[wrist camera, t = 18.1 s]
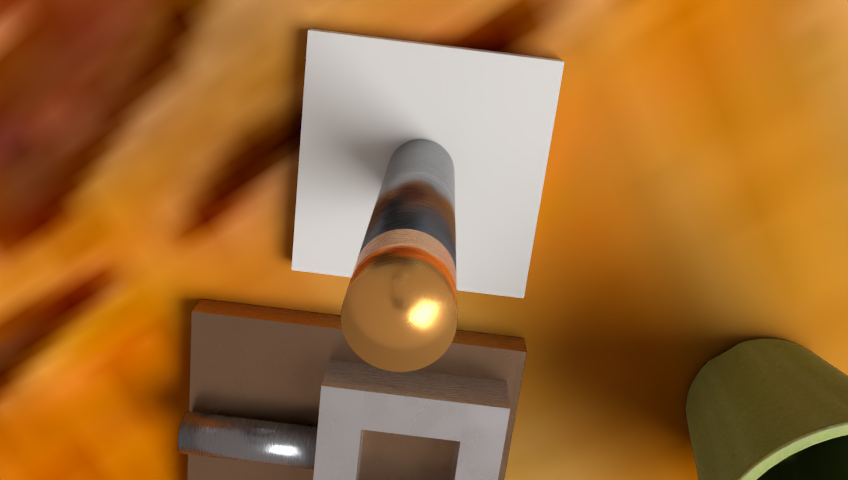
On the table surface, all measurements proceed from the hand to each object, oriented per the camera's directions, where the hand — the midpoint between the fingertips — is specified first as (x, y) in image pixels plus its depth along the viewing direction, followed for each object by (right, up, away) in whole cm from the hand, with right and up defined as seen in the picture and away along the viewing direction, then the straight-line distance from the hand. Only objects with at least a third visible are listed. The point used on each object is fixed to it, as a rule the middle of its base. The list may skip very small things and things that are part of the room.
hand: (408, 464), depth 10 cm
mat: (0, +6, +26) cm, 27 cm away
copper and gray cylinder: (0, +6, +25) cm, 26 cm away
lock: (-3, -7, +31) cm, 32 cm away
